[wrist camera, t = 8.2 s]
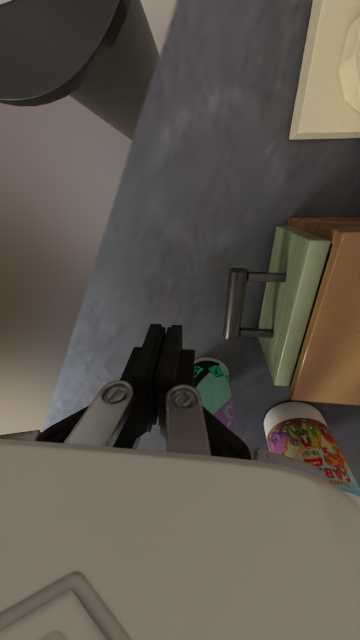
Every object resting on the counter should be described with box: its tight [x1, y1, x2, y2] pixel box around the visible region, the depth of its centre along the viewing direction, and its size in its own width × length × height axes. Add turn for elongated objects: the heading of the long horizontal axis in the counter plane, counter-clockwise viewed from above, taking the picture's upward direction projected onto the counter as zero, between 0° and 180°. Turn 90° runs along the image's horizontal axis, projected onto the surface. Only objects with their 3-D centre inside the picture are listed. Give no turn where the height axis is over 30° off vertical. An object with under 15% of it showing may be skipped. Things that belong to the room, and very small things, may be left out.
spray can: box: [193, 357, 236, 435], centre depth 22 cm, size 6×6×20 cm
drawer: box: [223, 225, 333, 386], centre depth 19 cm, size 18×11×8 cm, turn 90°
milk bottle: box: [264, 402, 360, 506], centre depth 24 cm, size 8×8×20 cm
